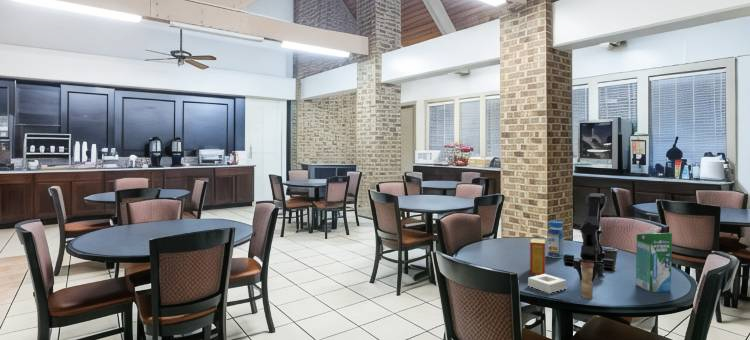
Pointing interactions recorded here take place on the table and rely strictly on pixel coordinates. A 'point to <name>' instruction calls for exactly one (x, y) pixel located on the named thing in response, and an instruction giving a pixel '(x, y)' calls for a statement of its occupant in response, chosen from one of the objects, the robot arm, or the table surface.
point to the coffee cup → (610, 253)
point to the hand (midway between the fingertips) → (586, 281)
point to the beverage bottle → (555, 240)
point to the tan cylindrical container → (587, 279)
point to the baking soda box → (537, 256)
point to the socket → (547, 283)
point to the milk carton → (654, 261)
